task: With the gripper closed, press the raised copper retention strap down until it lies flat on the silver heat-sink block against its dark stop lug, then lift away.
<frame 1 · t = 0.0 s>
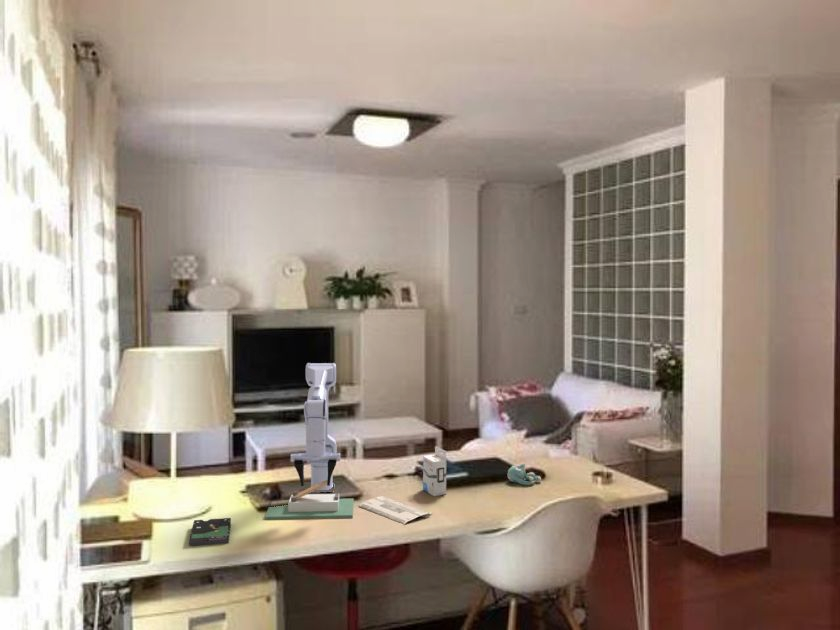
hand: (315, 485, 204), 10 cm above the table, fingers open, 7 cm apart
disk drive: (210, 537, 191), on the table
newspaper: (395, 513, 213), on the table
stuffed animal: (524, 483, 244), on the table
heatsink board: (311, 509, 213), on the table
ink box: (434, 492, 232), on the table
retention strap: (312, 489, 212), point 6 cm above the table, hinge at 25.0°
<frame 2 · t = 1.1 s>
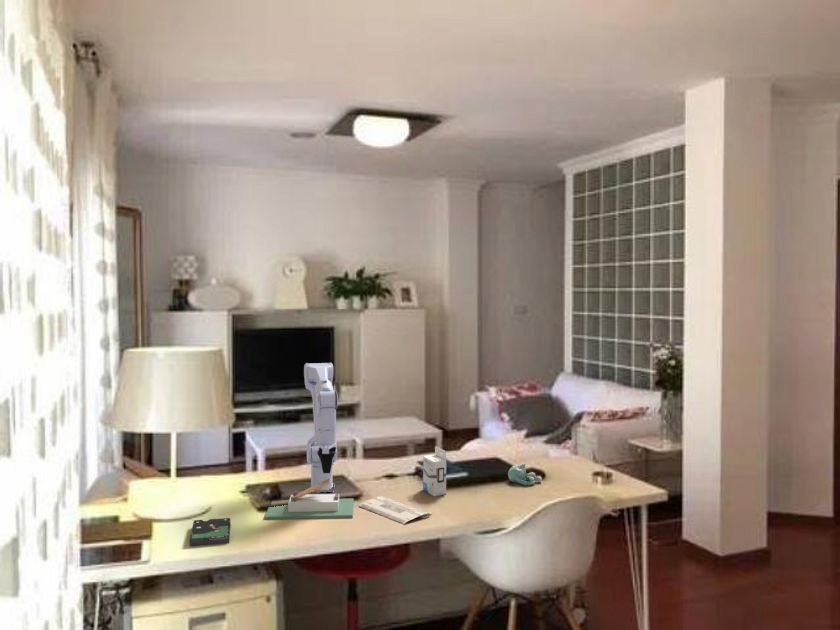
hand: (327, 471, 218), 10 cm above the table, fingers open, 3 cm apart
nothing on the table moved.
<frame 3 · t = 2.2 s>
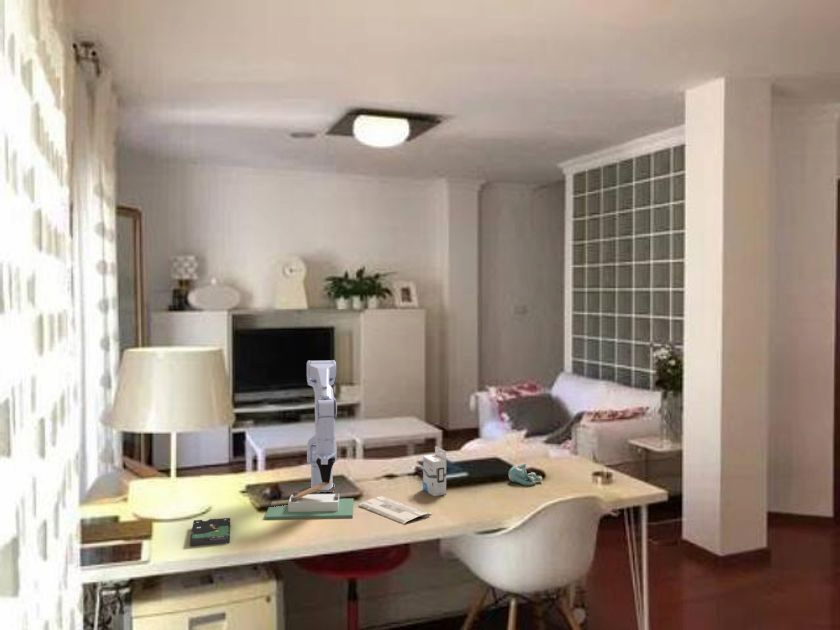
hand: (325, 481, 212), 9 cm above the table, fingers closed, pressing on retention strap
retention strap: (312, 489, 212), point 6 cm above the table, hinge at 23.3°, touching gripper
everything else where it was.
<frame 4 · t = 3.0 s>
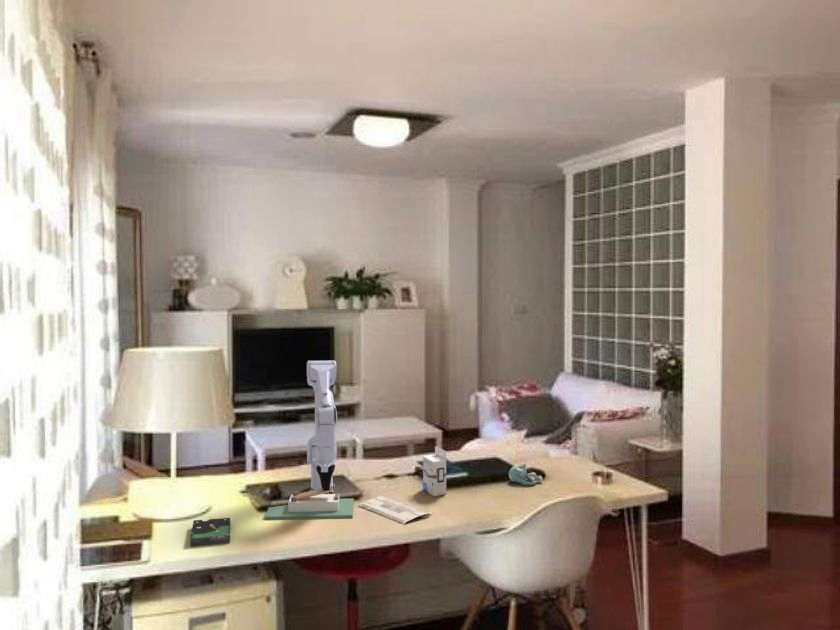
hand: (325, 489, 213), 6 cm above the table, fingers closed, pressing on retention strap
retention strap: (313, 493, 212), point 5 cm above the table, hinge at 12.1°, touching gripper
everything else where it was.
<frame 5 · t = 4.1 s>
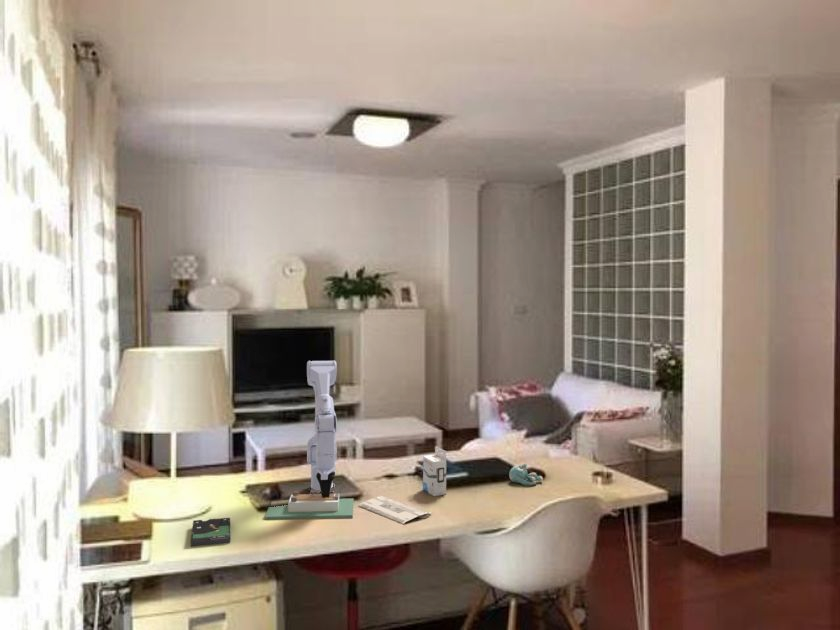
hand: (325, 496, 213), 4 cm above the table, fingers closed, pressing on retention strap
retention strap: (314, 497, 212), point 4 cm above the table, hinge at 0.2°, touching gripper
everything else where it was.
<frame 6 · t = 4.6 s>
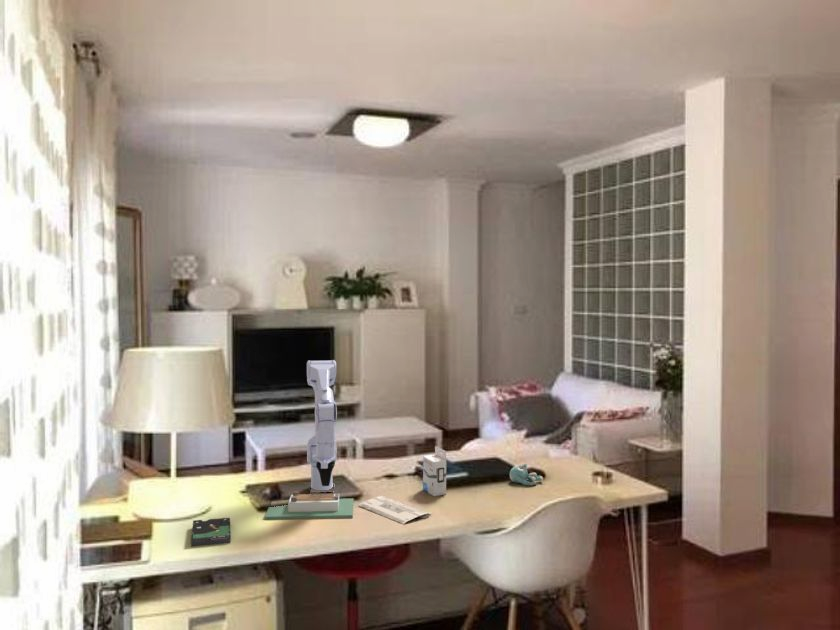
hand: (325, 485, 213), 8 cm above the table, fingers closed
retention strap: (314, 497, 212), point 4 cm above the table, hinge at 0.2°
everything else where it was.
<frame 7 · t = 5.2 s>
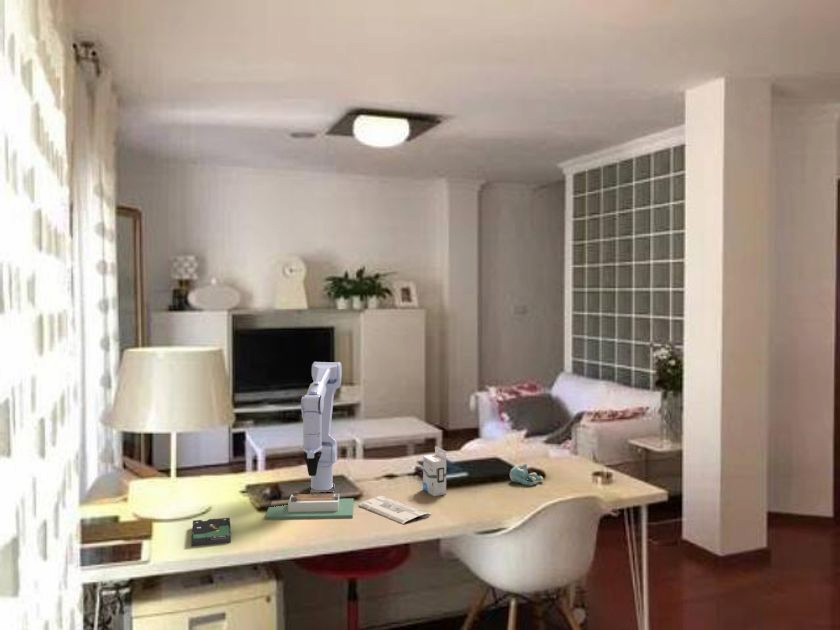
hand: (312, 475, 217), 9 cm above the table, fingers closed
nothing on the table moved.
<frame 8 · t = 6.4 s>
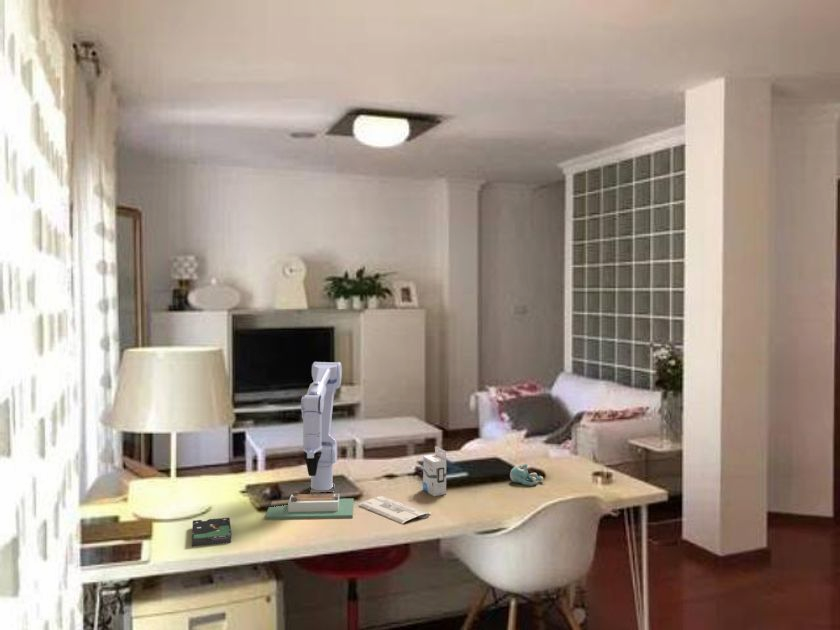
hand: (312, 475, 217), 9 cm above the table, fingers closed
nothing on the table moved.
at the end: retention strap at +0° (first picture: +25°); the gripper is holding nothing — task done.
